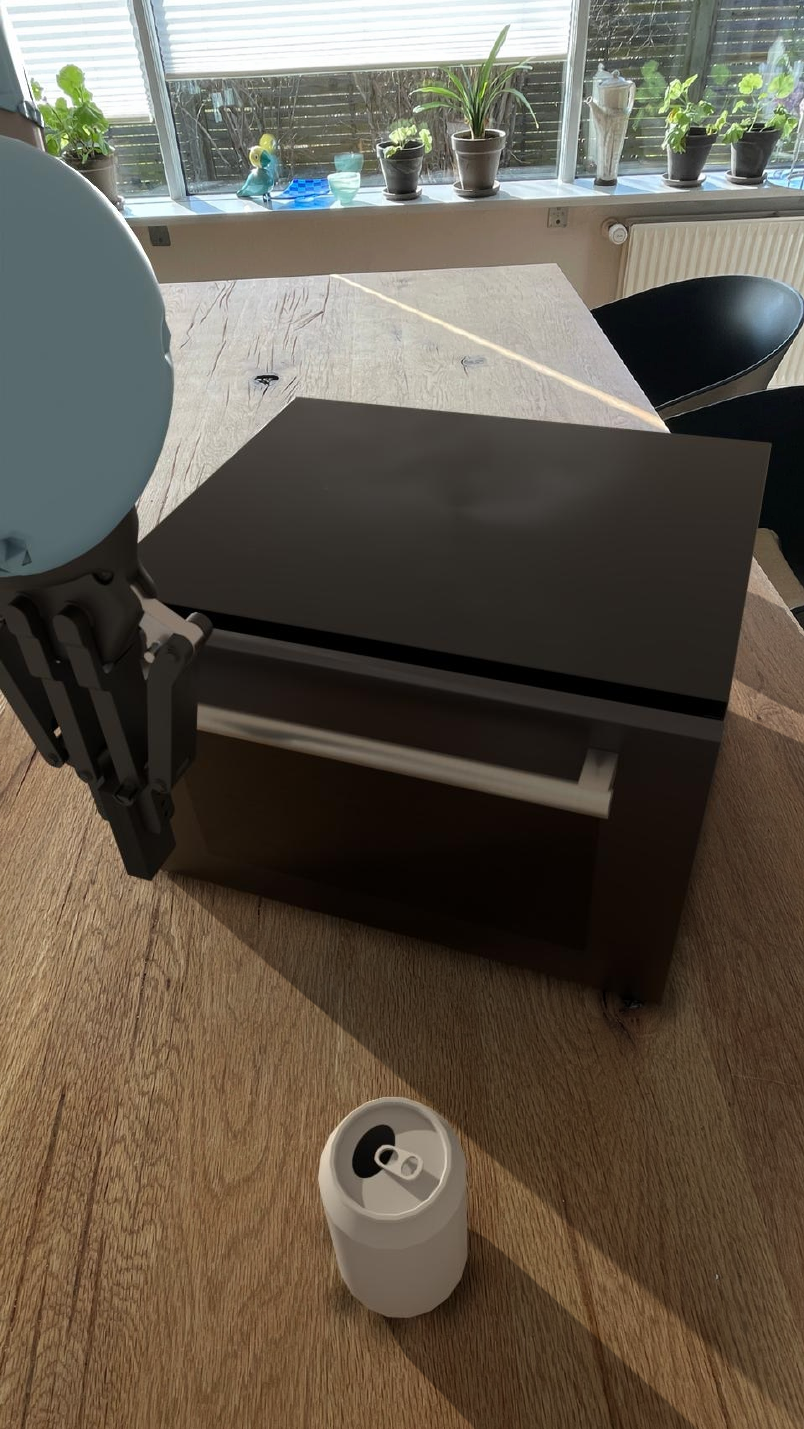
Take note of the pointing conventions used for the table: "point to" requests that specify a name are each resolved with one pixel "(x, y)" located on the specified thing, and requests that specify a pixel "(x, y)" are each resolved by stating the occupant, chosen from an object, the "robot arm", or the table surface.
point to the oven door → (447, 807)
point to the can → (396, 1205)
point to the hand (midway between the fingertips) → (152, 859)
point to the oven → (479, 548)
